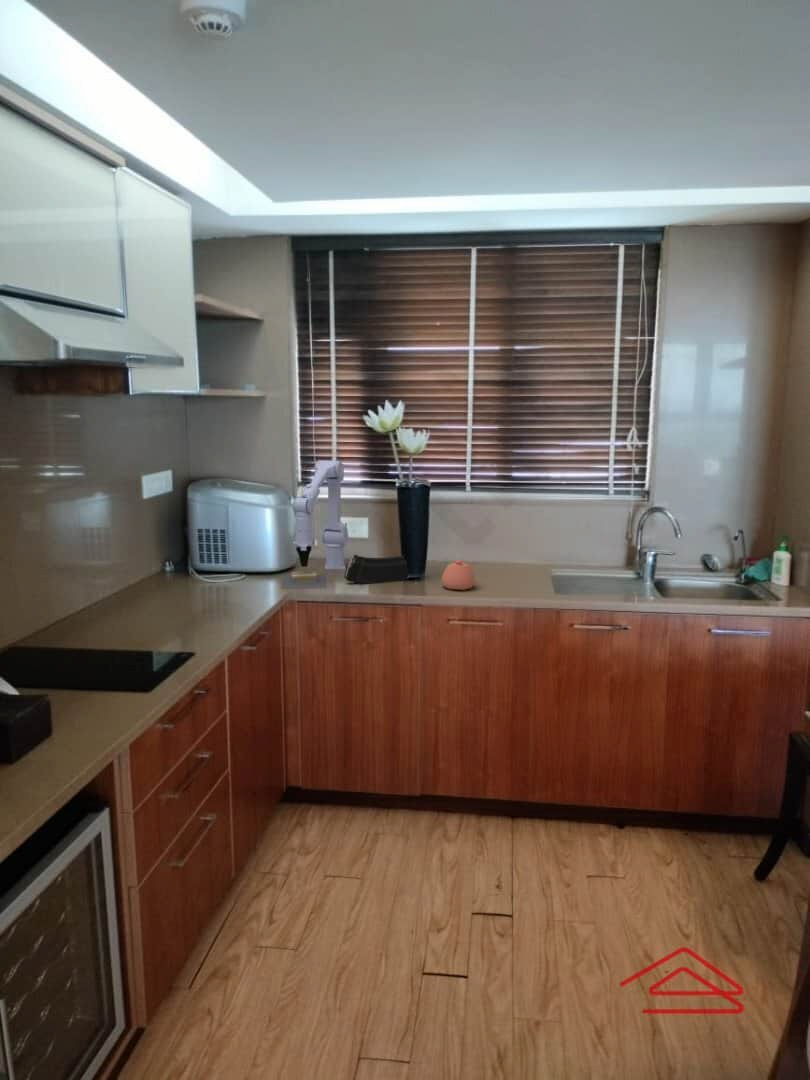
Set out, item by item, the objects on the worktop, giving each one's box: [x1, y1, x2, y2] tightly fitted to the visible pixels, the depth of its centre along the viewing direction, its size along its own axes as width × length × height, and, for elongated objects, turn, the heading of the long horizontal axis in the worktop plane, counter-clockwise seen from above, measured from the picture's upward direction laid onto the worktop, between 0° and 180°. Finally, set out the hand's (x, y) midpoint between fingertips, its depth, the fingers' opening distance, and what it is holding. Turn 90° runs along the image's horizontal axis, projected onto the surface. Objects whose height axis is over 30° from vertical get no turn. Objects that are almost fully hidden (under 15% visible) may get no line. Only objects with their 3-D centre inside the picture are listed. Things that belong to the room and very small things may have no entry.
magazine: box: [343, 554, 408, 584], centre depth 279 cm, size 17×3×30 cm
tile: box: [291, 571, 317, 583], centre depth 278 cm, size 2×9×7 cm
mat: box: [280, 574, 327, 590], centre depth 277 cm, size 22×16×1 cm
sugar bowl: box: [441, 559, 476, 591], centre depth 271 cm, size 12×14×10 cm
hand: (304, 566), depth 276 cm, fingers closed
